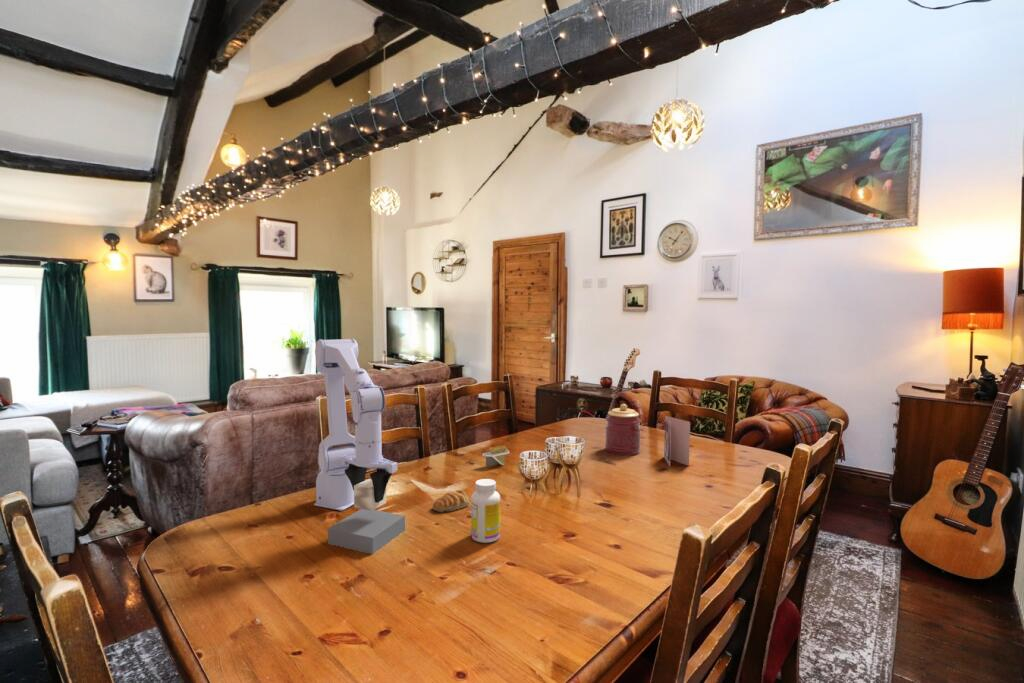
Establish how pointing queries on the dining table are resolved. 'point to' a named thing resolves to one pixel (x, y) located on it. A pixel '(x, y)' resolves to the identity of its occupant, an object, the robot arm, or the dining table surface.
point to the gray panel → (366, 530)
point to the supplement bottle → (485, 512)
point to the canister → (623, 431)
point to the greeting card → (676, 440)
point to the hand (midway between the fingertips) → (369, 499)
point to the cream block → (366, 496)
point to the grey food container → (496, 456)
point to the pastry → (451, 501)
